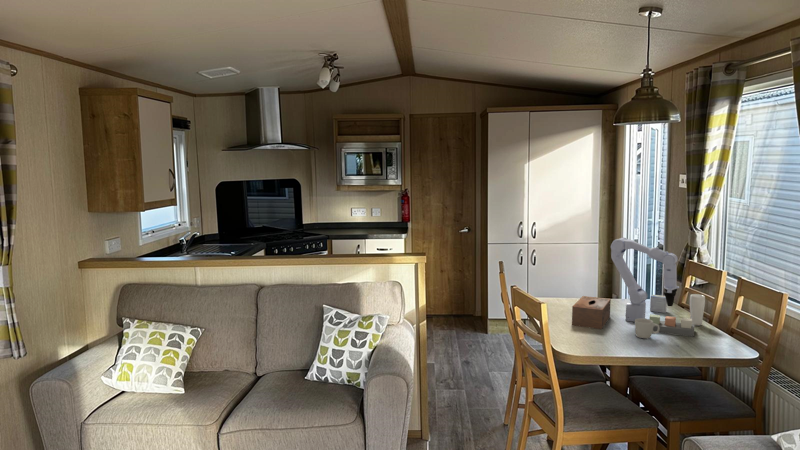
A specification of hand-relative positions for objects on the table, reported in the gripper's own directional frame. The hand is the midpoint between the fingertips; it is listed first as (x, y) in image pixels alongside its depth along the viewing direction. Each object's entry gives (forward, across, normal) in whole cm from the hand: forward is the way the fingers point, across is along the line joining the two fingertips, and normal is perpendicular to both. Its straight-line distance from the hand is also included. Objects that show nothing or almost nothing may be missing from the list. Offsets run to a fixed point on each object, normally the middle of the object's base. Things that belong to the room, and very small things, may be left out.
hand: (670, 304), depth 285 cm
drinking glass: (+12, +9, -11) cm, 19 cm away
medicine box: (+11, +28, +8) cm, 31 cm away
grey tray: (+11, -9, 0) cm, 14 cm away
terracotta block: (+9, -9, 0) cm, 12 cm away
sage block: (+8, -9, +7) cm, 14 cm away
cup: (+11, -26, +9) cm, 29 cm away
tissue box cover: (+10, -9, +37) cm, 39 cm away
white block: (+9, -9, -7) cm, 15 cm away
